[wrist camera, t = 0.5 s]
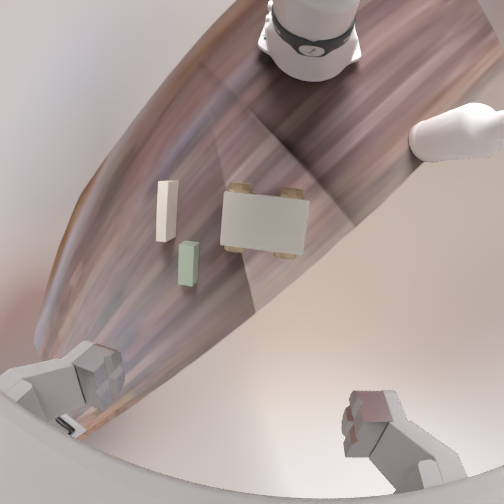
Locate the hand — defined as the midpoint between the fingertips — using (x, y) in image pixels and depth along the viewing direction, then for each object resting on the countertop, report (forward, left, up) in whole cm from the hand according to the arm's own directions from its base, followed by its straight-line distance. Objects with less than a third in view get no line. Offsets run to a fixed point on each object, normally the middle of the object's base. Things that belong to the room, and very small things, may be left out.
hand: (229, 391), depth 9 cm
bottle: (-18, +26, -46) cm, 56 cm away
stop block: (+1, -21, -46) cm, 51 cm away
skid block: (+11, -17, -46) cm, 51 cm away
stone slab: (+1, -3, -42) cm, 42 cm away
